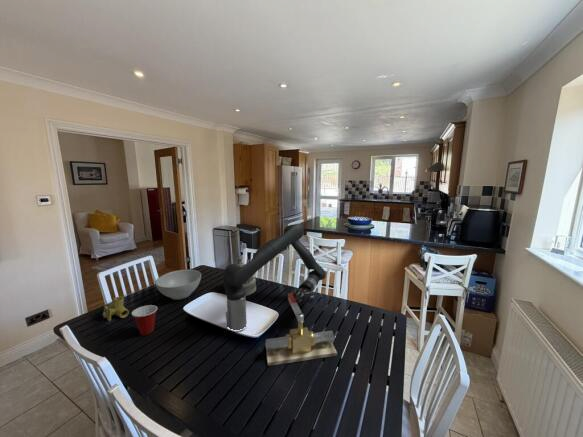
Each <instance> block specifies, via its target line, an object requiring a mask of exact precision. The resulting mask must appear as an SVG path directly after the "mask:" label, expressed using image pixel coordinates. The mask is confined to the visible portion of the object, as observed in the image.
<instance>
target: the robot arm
mask: <svg viewBox="0 0 583 437" xmlns="http://www.w3.org/2000/svg"><path fill="white" fill-rule="evenodd" d="M304 232H305V230H304V227H303V226H302V225H301V224H298V223H297V224H296V223H295V224H289V225H287V226H285V228H284V229H283V234H281V235H280V236H277V237H275V238H272V239H270V240H268V241H267V242H264V244H262V245H261V246H259V248H257V250H255V253H254V255H253V257H252V258H251V259H250V260H249V261H248V262H247V263H244V264H245V265H244V266H242V267H240V266H238V265H237V263H231V264H228V265H227V266H226V267H225V268H224V271H223V286H224V293H225V294H226V308H227V310H226V312H225V317H226V320H225V322H226V328H227V327H229V328H230V329H233V330H240V329H243V328H244V327H246V328H247V326H246V324H247V303H246V300H247V299H246V296H245V289H244V287H243V286H242V285H243V284H244V283H245V282H246V281H247V280H248V279H249V278H250V277H252V276H253V277H254V275H255V274H256V273H257V272H258V271H260V269H262V267H264V266H265V265H266V264H268V263H269V262H270V261H272V260H273V259H275V258H276V257H277V256H279V254H281V253H282V252H283V251H284V250H286V249H287V248H288V247H289V246H292V247H293V249H294V250H295V252H296V253H297V255H298V256H299V257H300V259H301V261H302V262H303V265H304V266H305V268H306V269H307V270H310V271H309V272H308V276H307V278H306V279H304V280H303V281H302V283H301V284H300V285H299V286H298V288H296V289H294V288H291V293H292V294H293V296H294V298H295V300H296V302H297V304H298V305H299V304H300V303H301V301H304V302H306V301H310V300H313V299H314V294H315V293H314V291H315V290H316V287H317V286H318V285H319V282H320V281H322V280H326V276H327V274H326V270H325V269H324V268H323V267H322V266H321V265H320V264H319V263H318V262H317V261H316V259H315V257H314V255H313V254H312V253H311V252H310V250H309V249H308V248H307V247H306V246H305V245H304V244H303V243H302V242H301V240H300V239H301V238H303V235H304Z"/></svg>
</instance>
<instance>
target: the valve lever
mask: <svg viewBox="0 0 583 437" xmlns="http://www.w3.org/2000/svg"><path fill="white" fill-rule="evenodd" d="M287 301H288V303H289V305H290V307H291V309H292V311H293V312H294V315H295V317H296V321H297V324H298V323H304V321H305V320H304V318H305V317H304V316H305V315H304V313H302V310H301V309H300V307H299V303H298V304H297V302H296V300H295V298H294V296H293V294H292V292H289V293H287Z"/></svg>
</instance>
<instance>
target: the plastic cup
mask: <svg viewBox="0 0 583 437" xmlns="http://www.w3.org/2000/svg"><path fill="white" fill-rule="evenodd" d="M157 310H158V306H156V305H152V304H149V305H144V306H140V307H139V306H138V308H135V309H134V310H132V312H131V315H132V316H133V318H134V319H133V320H135V323H136V326H137V328H138V329H137V330H138V331H139V333H140V335H141V336H148V335H150V334H151V333H153V332H154V331H155V330H154V329H155V323H156V322H155V321H156V315H157Z"/></svg>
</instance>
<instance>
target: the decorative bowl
mask: <svg viewBox="0 0 583 437" xmlns="http://www.w3.org/2000/svg"><path fill="white" fill-rule="evenodd" d="M201 279H202V273H201V271H199V270H196V269H180V270H174V271H170V272H168V273H165V274H162V275H160V276H159V277H158V278H157V279H156V280H155V282H154V283H155V287H156V289H157V290H158V291H159V292H160V293H161V294H162V295H164V296H165V297H167V298H170V299H172V300H173V301H174V300H175V301H176V300H177V301H179V300H183V299H186V298H188V297H190V296H191V294H192V293H193V292H194V291H195V290H196V289H197V288H198V286H199V285H200V282H201Z"/></svg>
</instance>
